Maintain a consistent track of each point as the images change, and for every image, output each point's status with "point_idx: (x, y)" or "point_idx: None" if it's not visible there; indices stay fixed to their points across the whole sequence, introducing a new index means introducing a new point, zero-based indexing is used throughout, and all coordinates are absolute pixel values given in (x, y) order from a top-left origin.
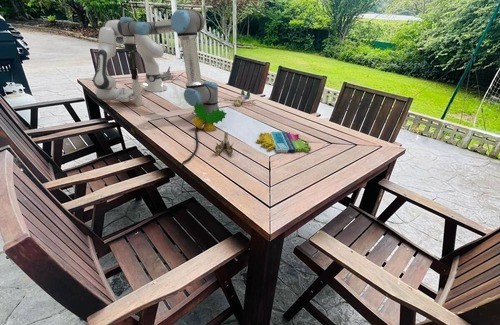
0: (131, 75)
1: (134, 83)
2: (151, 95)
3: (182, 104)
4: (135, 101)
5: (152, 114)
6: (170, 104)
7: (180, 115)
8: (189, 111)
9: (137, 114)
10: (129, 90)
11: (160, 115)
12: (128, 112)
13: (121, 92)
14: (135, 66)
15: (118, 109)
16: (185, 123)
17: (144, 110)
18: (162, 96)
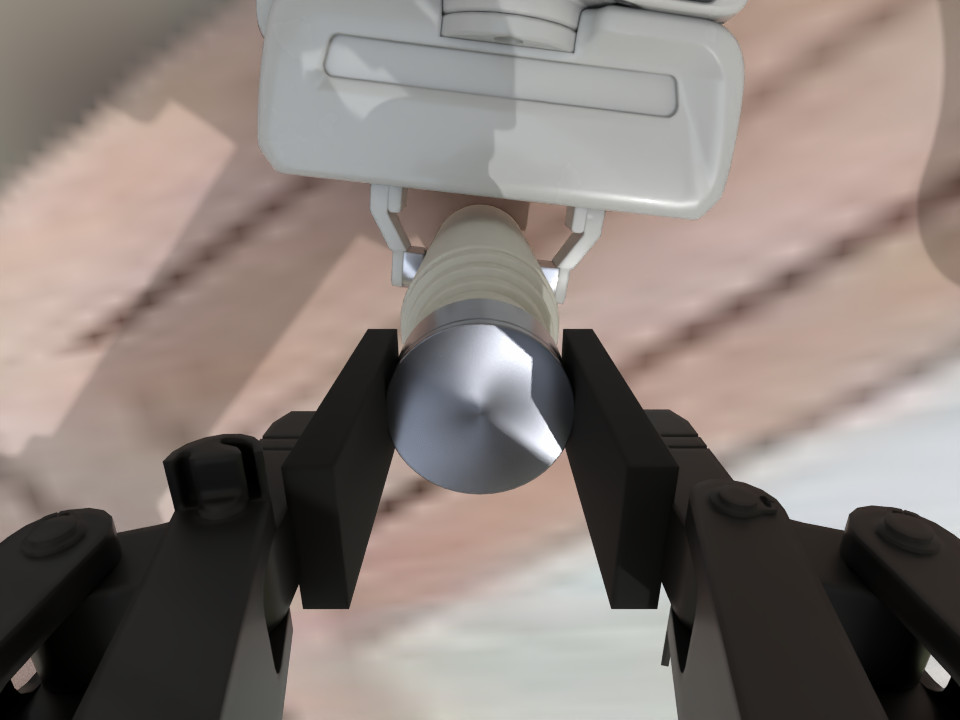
0: (453, 330)
1: (406, 328)
2: (887, 329)
3: (503, 643)
4: (438, 231)
5: (160, 444)
6: (499, 555)
7: None
8: (306, 695)
9: (122, 307)
10: (685, 104)
11: (150, 510)
12: (163, 195)
13: (463, 2)
14: (679, 658)
15: (249, 33)
16: (19, 683)
17: (267, 352)
18: (816, 455)
